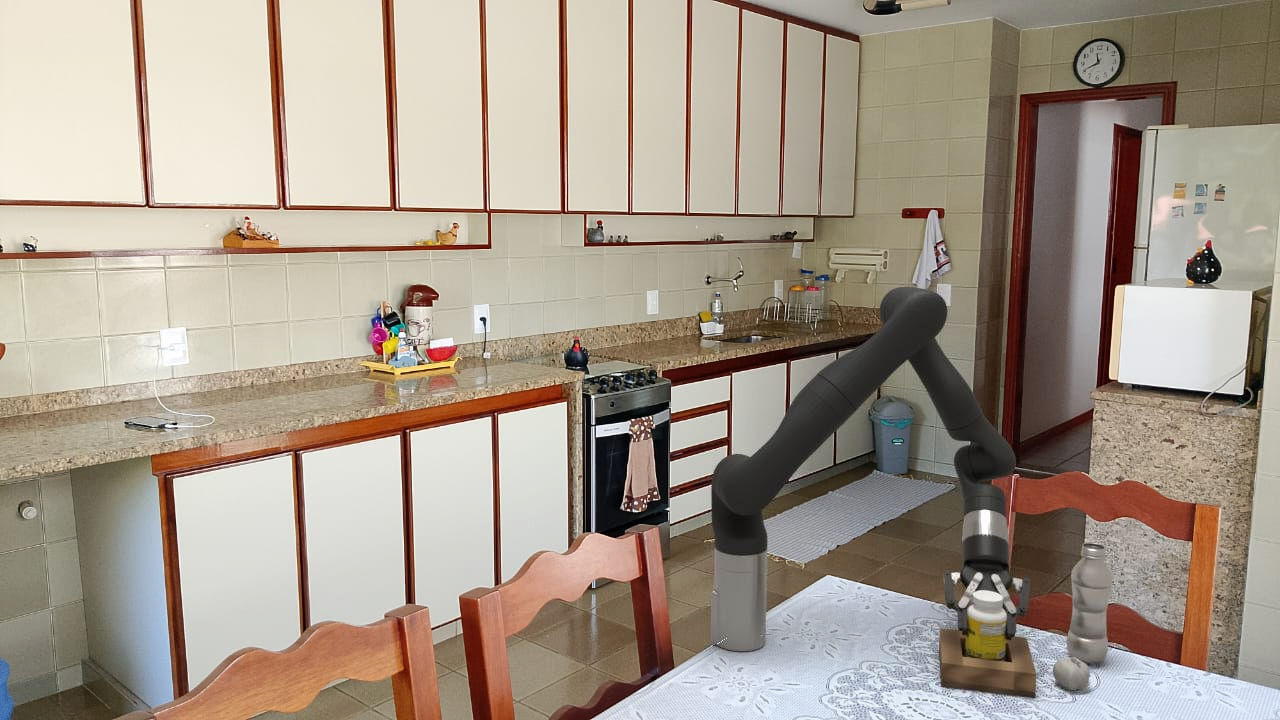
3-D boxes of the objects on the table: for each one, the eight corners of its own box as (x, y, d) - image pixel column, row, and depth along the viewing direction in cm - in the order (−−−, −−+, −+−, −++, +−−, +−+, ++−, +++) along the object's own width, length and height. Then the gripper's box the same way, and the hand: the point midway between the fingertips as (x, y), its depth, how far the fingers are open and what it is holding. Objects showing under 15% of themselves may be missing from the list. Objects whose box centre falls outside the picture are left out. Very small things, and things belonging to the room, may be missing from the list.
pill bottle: (962, 649, 161) (965, 586, 159) (1001, 653, 160) (1004, 589, 158) (967, 666, 155) (970, 600, 153) (1007, 669, 154) (1011, 604, 152)
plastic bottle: (1066, 664, 160) (1073, 550, 158) (1064, 648, 167) (1071, 538, 164) (1108, 671, 158) (1116, 555, 155) (1105, 654, 164) (1113, 542, 162)
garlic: (1093, 696, 149) (1095, 665, 149) (1056, 693, 151) (1058, 662, 150) (1084, 679, 155) (1086, 649, 155) (1048, 676, 156) (1050, 646, 156)
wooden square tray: (941, 686, 153) (942, 662, 152) (938, 650, 166) (939, 628, 165) (1035, 698, 149) (1036, 673, 148) (1025, 660, 162) (1026, 637, 162)
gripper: (942, 528, 164) (941, 621, 154) (1032, 536, 160) (1037, 632, 150) (940, 548, 169) (939, 639, 160) (1027, 556, 166) (1031, 650, 156)
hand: (986, 635), depth 155 cm, fingers closed on pill bottle, 6 cm apart
